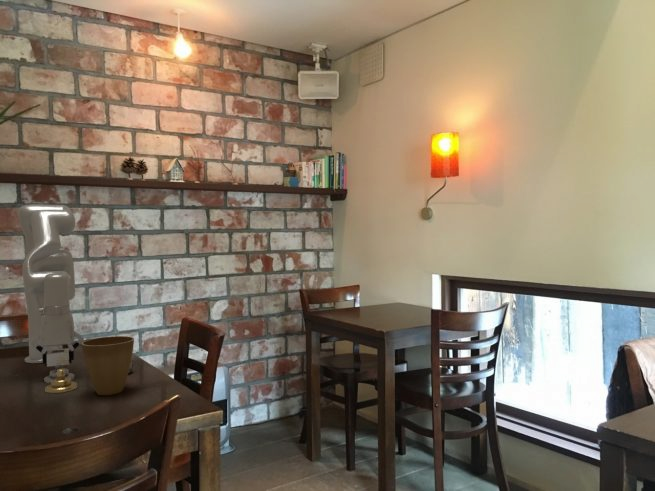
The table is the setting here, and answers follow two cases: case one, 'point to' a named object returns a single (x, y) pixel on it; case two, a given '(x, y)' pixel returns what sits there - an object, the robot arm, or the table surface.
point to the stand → (54, 374)
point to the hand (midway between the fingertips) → (58, 362)
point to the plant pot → (108, 362)
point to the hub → (61, 383)
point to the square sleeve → (58, 357)
